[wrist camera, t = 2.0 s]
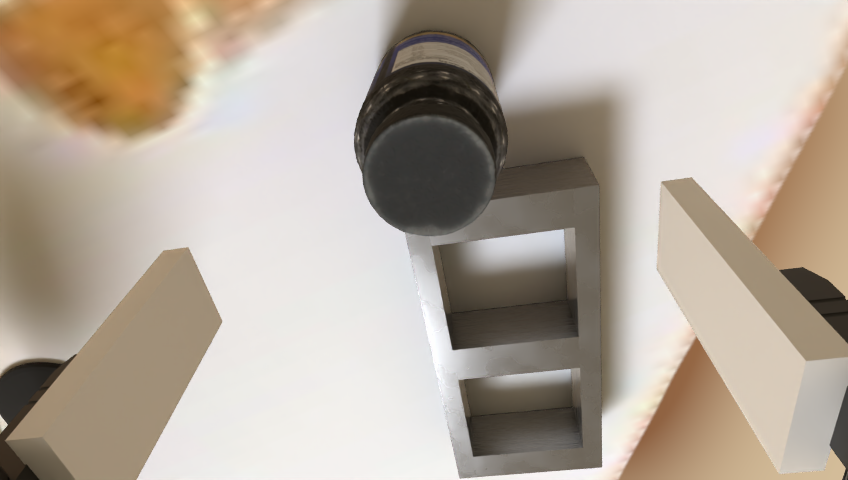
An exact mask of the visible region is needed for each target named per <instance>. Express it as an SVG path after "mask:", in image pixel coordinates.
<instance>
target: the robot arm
mask: <svg viewBox="0 0 848 480" xmlns="http://www.w3.org/2000/svg"><path fill="white" fill-rule="evenodd" d="M657 271H658V272H659V274H660V276H661V277H662V279H663V281H664V282H665V284H666V286H667V287H668V289H669V291H670V292H671V294H672V296H673V297H674V299H675V301H676V302H677V304H678V306H679V307H680V309H681V311H682V312H683V314H684V316H685V317H686V319H687V321H688V322H689V324H690V326H691V327H692V329H693V331H694V332H695V334H696V336H697V337H698V339H699V341H700V342H701V344H702V346H703V348H704V349H705V351H706V352H707V354H708V356H709V357H710V359H711V361H712V363H713V364H714V366H715V368H716V369H717V371H718V373H719V374H720V376H721V377H722V379H723V381H724V383H725V384H726V386H727V387H728V389H729V391H730V393H731V394H732V396H733V398H734V399H735V401H736V403H737V404H738V406H739V408H740V409H741V411H742V413H743V414H744V416H745V418H746V419H747V421H748V423H749V424H750V426H751V428H752V429H753V431H754V433H755V434H756V436H757V438H758V439H759V441H760V443H761V445H762V446H763V448H764V450H765V451H766V453H767V454H768V456H769V458H770V460H771V461H772V463H773V465H774V466H775V468H776V470H777V471H778V473H779V474H783V473H797V472H810V471H822V470H825V466H826V463H827V460H828V457H829V454H830V450H831V448H832V450H833V451H834V452H835V454H836V455H837V457H838V458H839V459H840V461H841V462H842V463H843V465H844V466H845V468H846V470H845V473H844V476H843V479H842V480H848V300H846V299H845V296H844V295H843V294H842V293H841V292H840V291H839V290H838V289H837V288H836V287H834V286H833V284H831V283H830V282H829V281H828V280H827V279H825V278H822V277H821V276H819V275H817V274H815V273H813V272H811V271H809V270H807V269H805V268H803V267H802V268H793V269H784V270H778V269H777V268H776V267H775V266H774V265H773V264H772V263H771V262H770V260H769V259H768V258H767V257H766V256H765V255H764V254H763V253H762V252H761V251H760V250H759V249H758V248H757V247H756V245H755V244H754V243H753V242H752V241H751V240H750V239H749V238H748V237H747V236H746V235H745V234H744V233H743V232H742V231H741V229H740V228H739V227H738V226H737V225H736V224H735V223H734V222H733V221H732V220H731V219H730V218H729V217H728V216H727V215H726V214H725V212H724V211H723V210H722V209H721V208H720V207H719V206H718V205H717V204H716V203H715V202H714V201H713V200H712V199H711V198H710V196H709V195H708V194H707V193H706V192H705V191H704V190H703V189H702V188H701V187H700V186H699V185H698V184H697V183H696V182H695V181H694V179H693V178H692V177H691V178H684V179H677V180H670V181H663V182H661V191H660V211H659V231H658V251H657ZM221 323H222V320H221V317H220V315H219V313H218V311H217V309H216V306H215V304H214V302H213V300H212V298H211V296H210V293H209V291H208V289H207V287H206V285H205V283H204V280H203V278H202V276H201V274H200V272H199V269H198V267H197V265H196V263H195V261H194V259H193V256H192V254H191V252H190V250H189V248H188V247H187V248H180V249H173V250H166V251H163V252H162V253H161V254H160V256H159V257H158V258H157V259H156V260H155V262H154V263H153V264H152V265H151V266H150V268H149V269H148V270H147V271H146V272H145V274H144V275H143V276H142V277H141V278H140V280H139V281H138V282H137V283H136V284H135V286H134V287H133V288H132V289H131V290H130V292H129V293H128V294H127V295H126V296H125V298H124V299H123V300H122V301H121V302H120V304H119V305H118V306H117V307H116V308H115V310H114V311H113V312H112V313H111V314H110V316H109V317H108V318H107V319H106V320H105V322H104V323H103V324H102V325H101V326H100V328H99V329H98V330H97V331H96V332H95V333H94V335H93V336H92V337H91V338H90V339H89V341H88V342H87V343H86V344H85V345H84V347H83V348H82V349H81V350H80V351H79V353H78V354H75V355H74V356H73V357H71V358H70V359H69V360H67V361H66V362H65V363H64V364H62V365H61V366H60V367H58V368H57V369H56V370H55V371H54V372H53V373H52V374H51V375H50V376H49V378H48V379H47V380H46V381H45V382H44V384H43V385H42V386H41V387H40V391H37V392H36V393H35V394H34V395H33V396H32V398H31V399H30V400H29V401H28V405H25V406H24V407H23V408H22V409H21V410H20V412H19V413H18V414H17V415H16V416H15V417H14V419H13V420H12V421H11V422H10V423H9V424H8V426H7V427H6V428H5V429H4V430H3V431H2V433H1V434H0V480H136V479H137V478H138V476H139V474H140V472H141V470H142V468H143V467H144V465H145V463H146V461H147V459H148V457H149V456H150V454H151V452H152V450H153V448H154V446H155V445H156V443H157V441H158V439H159V437H160V435H161V434H162V432H163V430H164V428H165V426H166V424H167V423H168V421H169V419H170V417H171V415H172V413H173V412H174V410H175V408H176V406H177V404H178V402H179V401H180V399H181V397H182V395H183V393H184V391H185V390H186V388H187V386H188V384H189V382H190V380H191V379H192V377H193V375H194V373H195V371H196V369H197V367H198V366H199V364H200V362H201V360H202V358H203V356H204V355H205V353H206V351H207V349H208V347H209V345H210V344H211V342H212V340H213V338H214V336H215V334H216V333H217V331H218V329H219V327H220V325H221Z"/></svg>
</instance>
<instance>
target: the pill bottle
mask: <svg viewBox="0 0 848 480" xmlns="http://www.w3.org/2000/svg"><path fill="white" fill-rule="evenodd" d="M354 136H355V138H354V148H355V153H356V159H357V163H358V164H359V166H360V169H361V172H362V176H363V185H364V189H365V193H366V195H367V198H368V200H369V202H370V204H371V205H372V207H373V208H374V209H375V211H376V212H377V213H378V214H379V216H380V217H382V218H383V219H384V220H385V221H386V222H387V223H389V224H390V225H392V226H393V227H395V228H397V229H399V230H401V231H403V232H406V233H409V234H414V235H420V236H442V235H447V234H450V233H453V232H456V231H458V230H460V229H462V228H464V227H466V226H468V225H469V224H471V223H472V222H473V221H475V220H476V219H477V217H478V216H479V215H480V214H482V213H483V211H484V210H485V208H486V207H487V205H488V204H489V202H490V200H491V197H492V195H493V193H494V189H495V184H496V180H497V177H498V176H499V174H500V172H501V169H502V166H503V165H504V163H505V156H506V153H507V145H508V135H507V127H506V123H505V119H504V116H503V113H502V109H501V106H500V103H499V99H498V96H497V93H496V89H495V86H494V82H493V79H492V75H491V72H490V70H489V67H488V65H487V63H486V61H485V59H484V58H483V56H482V55H481V54H480V52H479V51H478V50H477V49H476V48H475V47H474V46H473V45H472V44H471V43H470V42H469V41H467V40H466V39H463V38H462V37H460V36H458V35H456V34H453V33H450V32H443V31H432V30H427V31H421V32H419V33H416V34H413V35H411V36H408V37H406V38H404V39H403V40H402V41H401V42H399V43H398V44H396V45H395V46H393V47H392V48H391V49H390V50H389V51H388V53H387V54H386V55H385V56H384V58H383V59H382V61H381V64H380V66H379V67H378V69H377V72H376V74H375V77H374V79H373V81H372V84H371V86H370V89H369V91H368V94H367V96H366V99H365V101H364V103H363V105H362V108H361V110H360V113H359V116H358V118H357V123H356V128H355V133H354Z"/></svg>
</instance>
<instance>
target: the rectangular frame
mask: <svg viewBox="0 0 848 480" xmlns="http://www.w3.org/2000/svg"><path fill="white" fill-rule="evenodd" d="M560 229H564V238H565V258H566V279H567V299H568V300H565V301H556V302H547V303H538V304H530V305H521V306H512V307H504V308H495V309H486V310H477V311H469V312H460V313H451V307H450V302H449V297H448V291H447V286H446V281H445V276H444V270H443V265H442V260H441V254H440V249H439V245H444V244H452V243H459V242H467V241H475V240H482V239H490V238H498V237H506V236H513V235H521V234H529V233H536V232H544V231H552V230H560ZM405 235H406V240H407V244H408V249H409V253H410V258H411V262H412V266H413V271H414V275H415V280H416V284H417V289H418V293H419V298H420V302H421V307H422V311H423V316H424V320H425V325H426V329H427V334H428V338H429V343H430V347H431V352H432V356H433V361H434V365H435V370H436V374H437V379H438V383H439V387H440V392H441V396H442V401H443V405H444V410H445V414H446V419H447V423H448V428H449V432H450V437H451V441H452V446H453V450H454V455H455V459H456V464H457V468H458V473H459V477H460V478H471V477H483V476H496V475H509V474H522V473H535V472H547V471H560V470H573V469H586V468H599V467H602V416H601V316H600V216H599V184H598V182H597V180H596V178H595V177H594V175H593V173H592V171H591V169H590V167H589V166H588V164H587V162H586V160H585V158H584V157H582V158H575V159H568V160H562V161H555V162H548V163H541V164H534V165H527V166H520V167H513V168H506V169H501V172H500V174H499V176H498V177H497V180H496V184H495V189H494V193H493V195H492V197H491V200H490V202H489V204H488V205H487V207H486V208H485V210H484V211H483V213H482V214H480V215H479V216H478V217H477V219H476V220H475V221H473V222H472V223H471V224H469V225H468V226H466V227H464V228H462V229H460V230H458V231H456V232H453V233H450V234H447V235H442V236H420V235H414V234H409V233H406V232H405ZM563 369H571V381H572V402H573V407H572V408H561V409H550V410H540V411H529V412H518V413H507V414H496V415H485V416H474V417H471V413H470V408H469V403H468V397H467V392H466V387H465V382H464V379H473V378H483V377H493V376H503V375H513V374H523V373H533V372H543V371H553V370H563Z"/></svg>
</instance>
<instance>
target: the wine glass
mask: <svg viewBox="0 0 848 480" xmlns="http://www.w3.org/2000/svg"><path fill="white" fill-rule="evenodd" d="M60 366H61V365H60V364H53V363H29V364H24V365H20V366H17V367H15V368H13V369H11V370H9V371H8V372H7V373H5V374H4V375H3V376H2V377H1V378H0V415H1V416H2V418H3V419H4V420H5V421H6V423H7V424H9V423H10V422H11V421H12V420H13V419H14V417H15V416H16V415H17V414H18V413H19V412H20V410H21V409H22V408H23V407H24V406H25V405H28V401H29V400H30V399H31V398H32V396H33V395H34V394H35V393H36V392H37V391H40V387H41V386H42V385H43V384H44V382H45V381H46V380H47V379H48V378H49V376H50V375H51V374H52V373H53V372H54V371H55V370H56V369H57V368H58V367H60Z"/></svg>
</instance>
